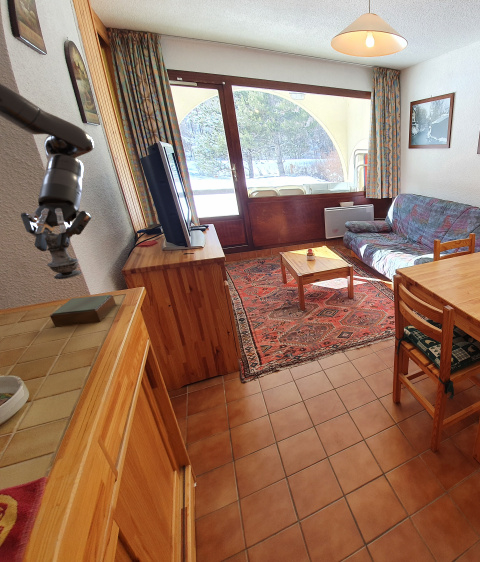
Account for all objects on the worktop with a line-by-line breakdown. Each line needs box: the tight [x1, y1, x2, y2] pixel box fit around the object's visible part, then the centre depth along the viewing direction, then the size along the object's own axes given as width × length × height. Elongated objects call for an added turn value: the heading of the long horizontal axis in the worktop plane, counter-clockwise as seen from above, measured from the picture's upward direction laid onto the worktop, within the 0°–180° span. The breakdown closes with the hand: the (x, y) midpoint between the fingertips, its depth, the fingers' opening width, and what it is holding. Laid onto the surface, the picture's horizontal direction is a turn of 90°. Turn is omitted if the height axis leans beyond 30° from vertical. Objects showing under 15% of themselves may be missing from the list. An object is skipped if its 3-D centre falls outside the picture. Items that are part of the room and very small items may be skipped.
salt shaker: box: [45, 230, 83, 280], centre depth 78 cm, size 6×6×12 cm
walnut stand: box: [49, 294, 117, 327], centre depth 86 cm, size 10×10×4 cm
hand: (51, 248), depth 76 cm, fingers closed on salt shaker, 3 cm apart
